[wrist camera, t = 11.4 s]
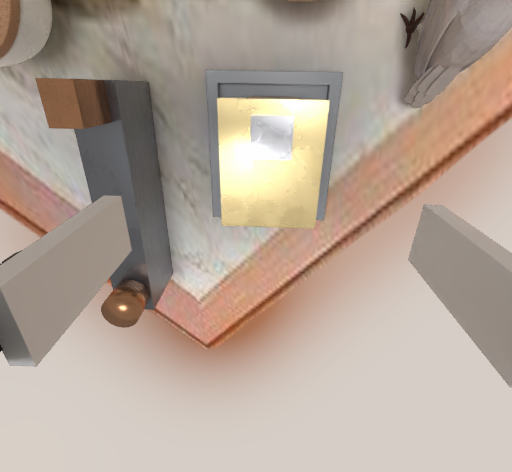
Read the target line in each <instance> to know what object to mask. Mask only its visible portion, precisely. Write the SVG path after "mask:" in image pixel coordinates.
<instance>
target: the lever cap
mask: <svg viewBox="0 0 512 472" xmlns="http://www.w3.org/2000/svg"><path fill="white" fill-rule="evenodd" d="M329 102H330V100H326V99H296V98H246V97H220V98H217V110H218V136H219V162H220V189H221V215H222V225H224V226H254V227H285V228H315V223H316V215H317V206H318V197H319V189H320V180H321V171H322V163H323V154H324V146H325V137H326V128H327V120H328V111H329Z"/></svg>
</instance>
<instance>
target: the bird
mask: <svg viewBox="0 0 512 472" xmlns="http://www.w3.org/2000/svg"><path fill="white" fill-rule="evenodd" d="M400 14H401V13H400ZM415 15H416V10H415V7H414V10H413V15H412V18H411V21H410V22H409V20H408V19H407V17H406V16H405V15H403V14H401V16H402V18H403V19H404V21H405V24H406V32H407V43H406V47H407V46H408V44H409V42H410V38H411V33H412V32H414V30H415V28H417V31H418V32H420V34H419V38H418V43H417V49H416V53H415V62H414V73H415V76H416V78H417V79H418V80H417V81H416V82H415V83H414V85H413V86H412V87H411V88H410V90H409V93H408V94H407V95H406V97H405V99H404V101H405V102H406V103H408V104H411V107H412V108H420V107H422V106H423V105H424V104H427V103H429V102H431V101H432V100H433V99H434V98H435V96H436V95H438V94H440V93H441V92H442V91H444V89H445V88H446V87H447V86H448V85H449V84H450V82H451V81H452V80H453V79H454V78H455V76H456V75H457V74H458V73H460V72H461V71H463V70H465V69H466V68H468V67H469V66H471V65H472V64H473V63H475V62H476V61H477V60H479V59H480V58H481V57H482V56H484V55H485V54H486V53H487V52H488V51H489V50H490V49H491V48H492V47H493V46H494V45H495V44H496V43H497V42H498V41H499V40H500V39H501V38H502V37H503V36H504V35H505V34H506V33H507V32H508V31H509V30H510V29H511V27H512V0H431V1H430V4H429V7H428V9H427V12H426V15H425V19H424V21H423V22H422V23H420V24H418V23H419V22H420V20H421V19H422V18H423V16H424V13H423V14H422V15H421V16H420V17H419V18H418V19H417V20H416V21H415ZM414 21H415V22H414ZM406 47H405V48H406Z"/></svg>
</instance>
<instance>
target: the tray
mask: <svg viewBox="0 0 512 472" xmlns="http://www.w3.org/2000/svg"><path fill="white" fill-rule="evenodd" d="M342 76H343V72H298V71H241V70H206V86H207V105H208V125H209V144H210V164H211V183H212V203H213V217H222V215H221V189H220V162H219V136H218V110H217V98H220V97H246V98H296V99H326V100H330V102H329V111H328V120H327V128H326V137H325V146H324V154H323V163H322V171H321V180H320V189H319V197H318V206H317V215H316V220H324V215H325V207H326V200H327V192H328V184H329V176H330V169H331V161H332V153H333V146H334V138H335V130H336V122H337V115H338V107H339V99H340V91H341V84H342Z"/></svg>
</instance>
